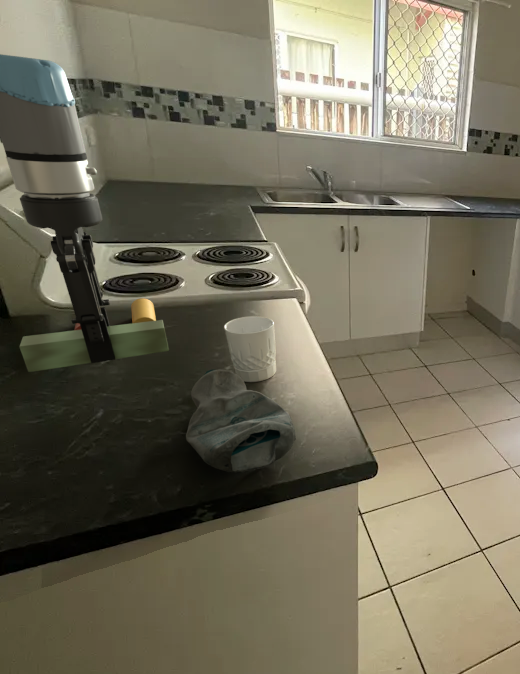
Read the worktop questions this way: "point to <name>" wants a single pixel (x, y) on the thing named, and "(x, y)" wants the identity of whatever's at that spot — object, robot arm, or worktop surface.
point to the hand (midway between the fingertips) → (103, 354)
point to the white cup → (252, 347)
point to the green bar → (73, 350)
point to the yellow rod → (142, 311)
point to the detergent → (237, 424)
